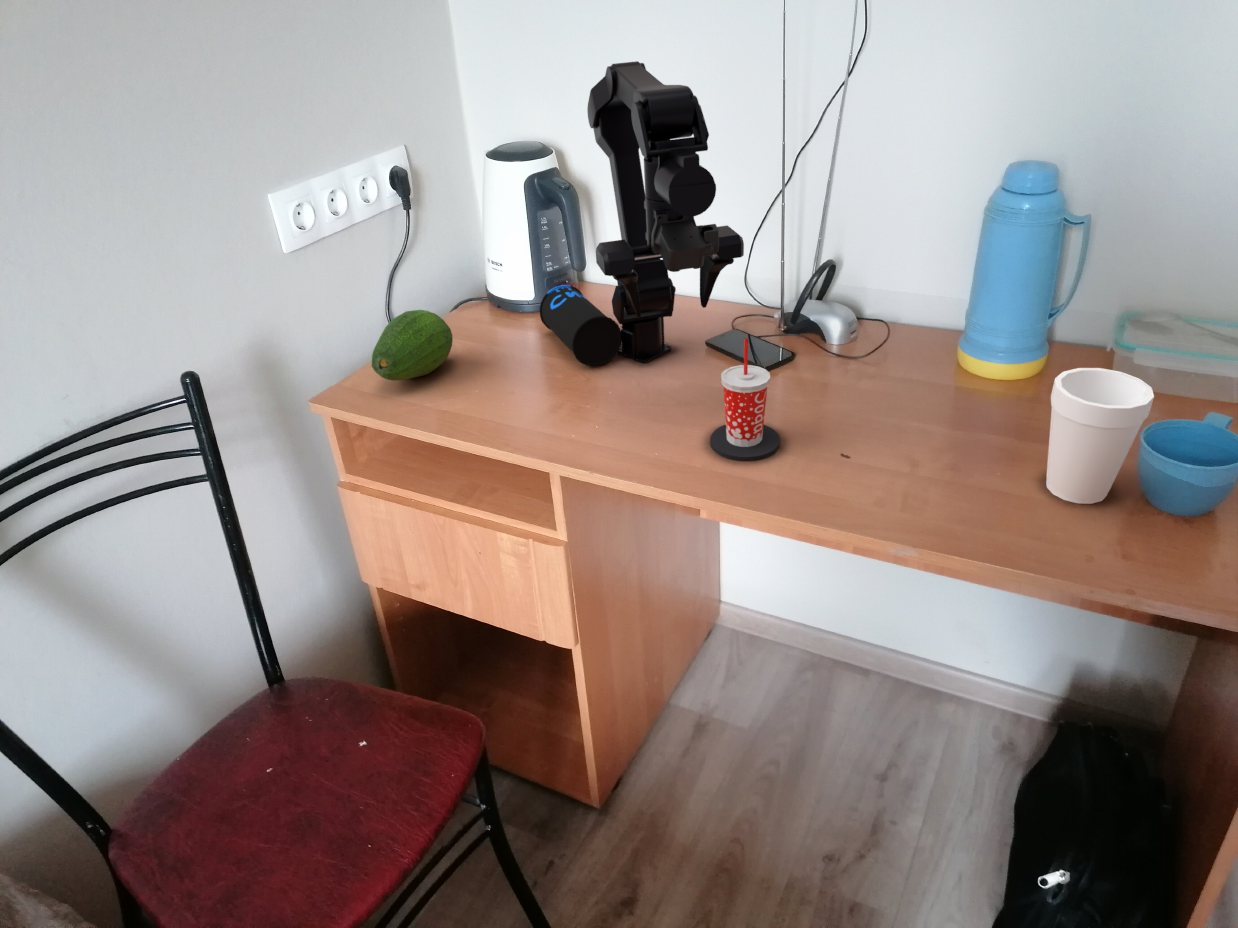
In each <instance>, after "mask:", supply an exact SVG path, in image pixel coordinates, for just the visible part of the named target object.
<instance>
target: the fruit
mask: <svg viewBox="0 0 1238 928" xmlns="http://www.w3.org/2000/svg"><path fill="white" fill-rule="evenodd" d="M452 346H453V333H452V329H451V328H450V326H449V325H448V323H447V322H446V321H445V320H444V319H443V318H442V317H441V316H439V315H438V314H436V313H435V312H432V311H430V310H424V309H414V310H406V311H405V312H402V313H401V314H398V315H397V316H396V317H394V318H393V319H391V320H390V321H389V322H388V324H387V325H385V327H384V329H383V331H382V333H381V335H380V336H379V338H378V339H377V342H376V344H375V346H374V348H373V351H372V353H371V368H372V369H373V371H374V372H375V374H377V375H379V376H380V377H381V378H382V379H385V380H388V381H403V380H408V379H412V378H419V377H422V376H427V375H429V374H431V373H432V372H433V371H435V370H436V369H437V368H439V367H440V366H441V365H442V364H443V363H444V362H445V361H446V360H447V359H448V357H449V355H450V352H451V350H452Z"/></svg>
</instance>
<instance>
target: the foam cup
mask: <svg viewBox="0 0 1238 928" xmlns="http://www.w3.org/2000/svg"><path fill="white" fill-rule="evenodd" d="M1154 399H1155V393H1154V392H1153V387H1152V386H1150V385H1149V384H1147V383H1146V382H1145V381H1143V380H1142V379H1141V378H1138V377H1136V376H1133V375H1131V374H1128V373H1125V372H1123V371H1119V370H1113V369H1108V368H1102V367H1077V368H1073V369H1068V370H1063V371H1062V372H1061V373H1060V374H1058V375H1057V376H1056V377H1055V378H1054V381H1053V386H1052V390H1051V394H1050V405H1051V413H1050V424H1049V425H1050V426H1049V437H1048V438H1049V439H1048V440H1049V441H1048V450H1047V465H1046V476H1045V477H1046V480H1045V483H1046V488H1047V490H1049V492H1050V493H1051V494H1052V495H1053V496H1055V497H1057V498H1059V499H1061V500H1063V501H1066V502H1070V503H1075V504H1081V505H1082V504H1084V505H1091V504H1095V503H1096V504H1097V503H1100V502H1103V500H1104V499H1106V497H1107V496H1108V494H1109V492H1110V490H1111V489H1112V486H1113V484H1114V482H1115V481H1116V478H1117V477H1118V474H1119V472H1120V470H1121V468H1122V466H1123V464H1124V462H1125V460H1126V458H1127V456H1128V454H1129V452H1130V450H1131V448H1132V446H1133V444H1134V441H1135V439H1136V438H1137V435H1138V434H1139V431H1140V429H1141V427H1142V425H1143V423H1144V422H1145V420H1147V418H1148V417H1149V415H1150V412H1151V408H1152V405H1153V402H1154Z"/></svg>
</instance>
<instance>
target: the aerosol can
mask: <svg viewBox="0 0 1238 928" xmlns="http://www.w3.org/2000/svg"><path fill="white" fill-rule="evenodd" d="M539 317H540V320H541V323H542V324H543V326H545V327H546V328H547V329H548V330H550V331H551V332H553V333H554V335H555V336H557V338H558V339H559V340H560V341H561V342H562V343H563V344H564V345H565V346H566V347H567V348H568V349H569V350H570V351H571V352H572V353H573V356H574V358H575V359H576V360H577V361H578V362H579V363H581V364H582V365H584V366H587V367H592V368H593V367H601V366H603V365H605V364H608V362H610V361H611V360H613V359H614V358H615V357H616V355H617V354H618V353H617V352H618V350H619V348H620V347H621V346H622V343H621V340H622V336H621V328H620V327H619V325H618V324H619V323H618V322H616V321H615V320H614V319H613V318H611V317H609V316H607V315H605V314H604V313H603V311H601V310H600V309H599V308H598V307H596V305H595V304H593V303H592V302H591V301H590V300H589V299H588V298H586V297H585V296H584V294H583V293H582V291H581V290H580V289H578V288H577V287H575V286H573V285H569V284H561V285H557V286H555V287H552V288H551V289H550V290H548V291H547V292H546V293H545V295H543V297H542V299H541V301H540V305H539Z"/></svg>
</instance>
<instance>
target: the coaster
mask: <svg viewBox="0 0 1238 928" xmlns="http://www.w3.org/2000/svg"><path fill="white" fill-rule="evenodd" d="M709 440H710V441H709V444H710V447H711V449H712V450H713V451H714V452H715V453H716V454H718V456H720V457H723V458H726V459H730V460H733V461H740V462H748V461H749V462H750V461H758V460H763V459H765V458H768V457H770V456H772V455H773V454H775V453H776V452H777V451H778V450H779V448H780V446H781V437H780V435H779V433H778V432H777V430H775V429H774V428H772V427H770V426H769V425H766V424H764V425H763V435H762V440H761V442H760V443H758V444H756V445H754V446H749V447H740V446H735V445H733V444H731V443H729V442H728V440H727V434H726V424H723V425H721V426H719V427H717V428H715V430H713V432H712V433H711V434H710V436H709Z"/></svg>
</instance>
